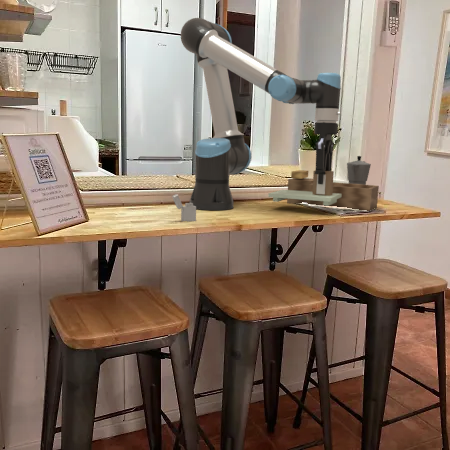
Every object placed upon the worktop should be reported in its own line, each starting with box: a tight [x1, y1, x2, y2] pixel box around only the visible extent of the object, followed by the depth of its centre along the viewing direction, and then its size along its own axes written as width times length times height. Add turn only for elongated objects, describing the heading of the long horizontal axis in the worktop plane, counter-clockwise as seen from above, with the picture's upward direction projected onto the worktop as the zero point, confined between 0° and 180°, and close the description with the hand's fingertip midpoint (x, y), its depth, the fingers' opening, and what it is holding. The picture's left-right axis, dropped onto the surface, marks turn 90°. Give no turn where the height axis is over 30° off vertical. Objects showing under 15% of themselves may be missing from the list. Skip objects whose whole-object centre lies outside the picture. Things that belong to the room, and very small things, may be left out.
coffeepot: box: [346, 155, 371, 185], centre depth 201 cm, size 15×9×18 cm, turn 149°
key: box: [290, 169, 309, 179], centre depth 192 cm, size 4×8×2 cm, turn 153°
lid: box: [267, 170, 342, 206], centre depth 173 cm, size 22×14×11 cm, turn 63°
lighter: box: [171, 193, 197, 222], centre depth 148 cm, size 7×2×8 cm, turn 116°
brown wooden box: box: [286, 177, 380, 212], centre depth 187 cm, size 31×14×9 cm, turn 63°
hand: (322, 193), depth 171 cm, fingers closed on lid, 3 cm apart
